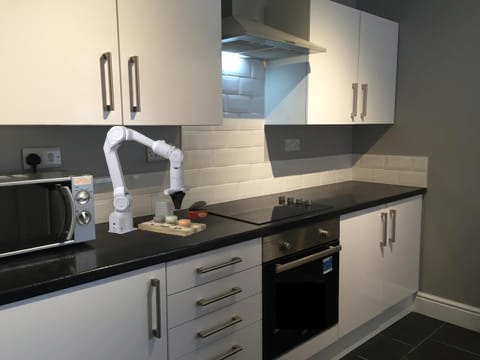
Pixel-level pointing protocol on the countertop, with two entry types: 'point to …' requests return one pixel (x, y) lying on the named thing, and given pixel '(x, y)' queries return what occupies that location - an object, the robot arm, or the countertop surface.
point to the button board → (172, 228)
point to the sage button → (171, 219)
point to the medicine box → (163, 207)
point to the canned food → (197, 210)
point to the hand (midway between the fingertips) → (177, 209)
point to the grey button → (159, 219)
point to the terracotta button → (184, 222)
